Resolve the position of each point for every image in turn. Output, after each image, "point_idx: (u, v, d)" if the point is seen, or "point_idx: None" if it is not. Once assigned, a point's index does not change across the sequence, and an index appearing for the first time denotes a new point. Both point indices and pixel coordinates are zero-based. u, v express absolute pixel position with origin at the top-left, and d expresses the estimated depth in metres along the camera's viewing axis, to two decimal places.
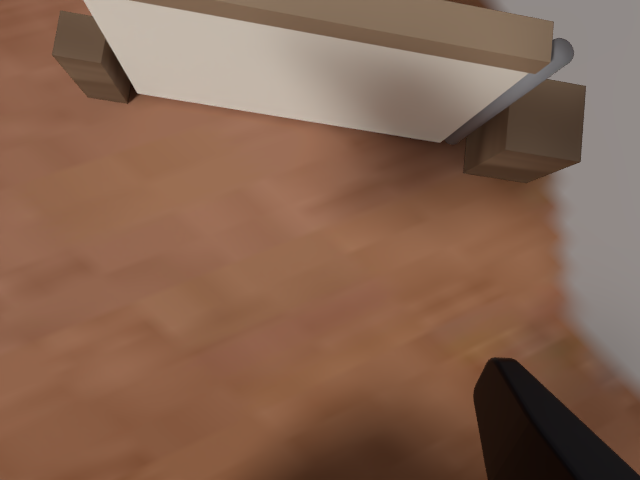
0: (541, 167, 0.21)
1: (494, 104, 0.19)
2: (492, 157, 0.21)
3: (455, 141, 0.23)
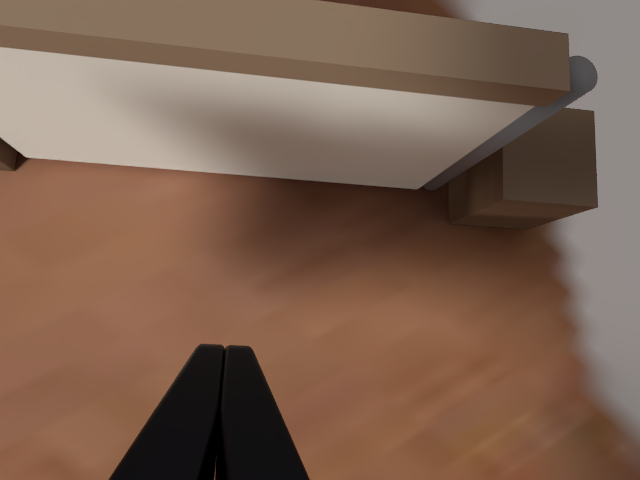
0: (547, 214, 0.17)
1: (486, 144, 0.14)
2: (486, 207, 0.16)
3: (436, 187, 0.19)
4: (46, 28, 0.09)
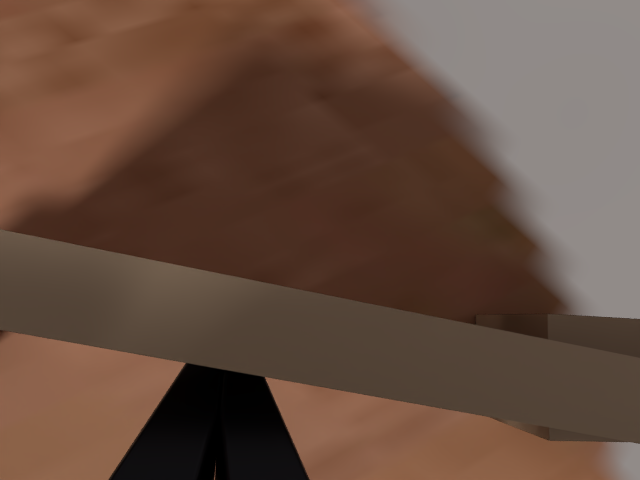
0: None
1: None
2: (525, 430, 0.14)
3: None
4: None
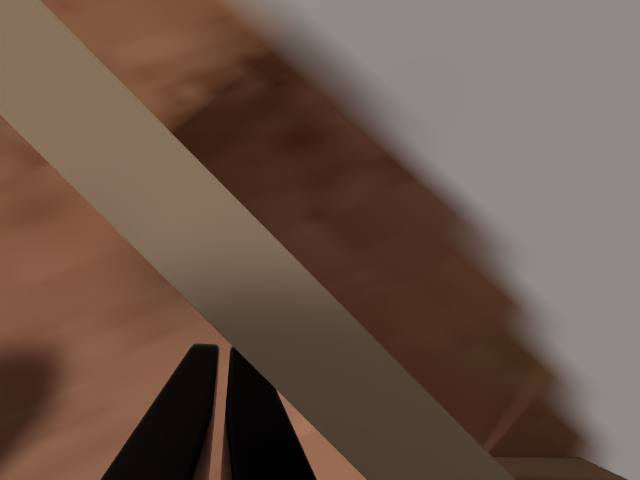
0: None
1: None
2: None
3: None
4: (138, 242, 0.06)
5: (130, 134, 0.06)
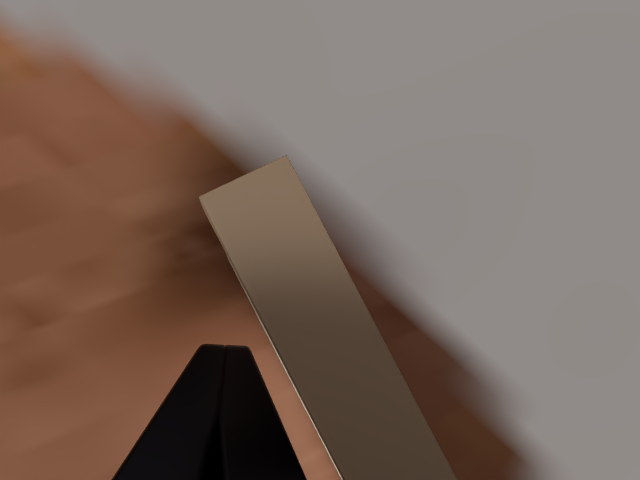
0: None
1: None
2: None
3: None
4: (335, 448, 0.06)
5: (355, 345, 0.07)
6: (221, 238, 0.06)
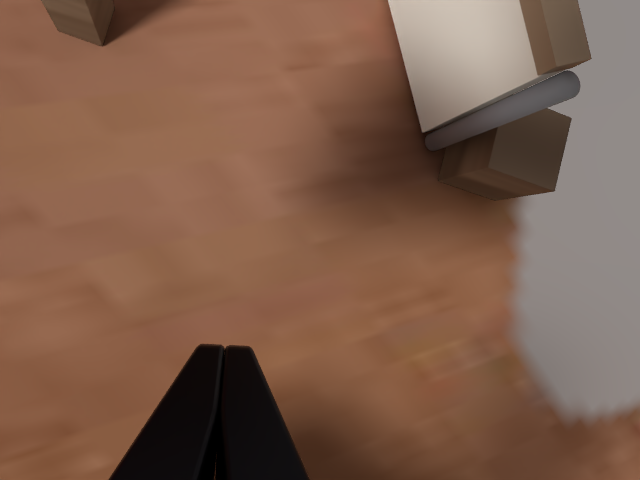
0: (516, 189, 0.22)
1: (486, 110, 0.19)
2: (472, 171, 0.21)
3: (430, 142, 0.23)
4: None
5: None
6: None
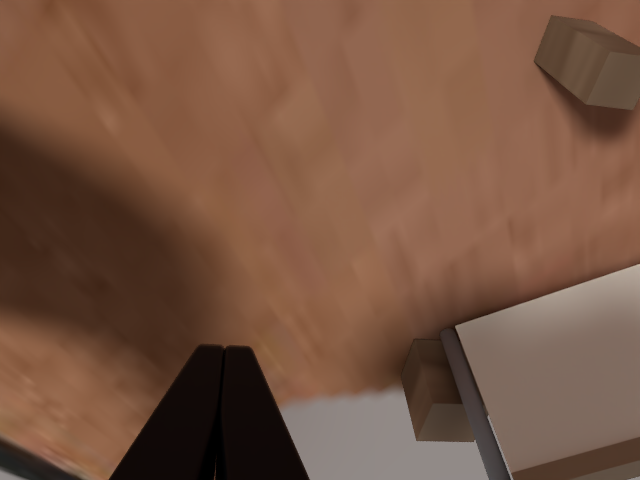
0: (414, 407, 0.27)
1: (479, 407, 0.23)
2: (427, 384, 0.26)
3: (447, 336, 0.27)
4: None
5: None
6: None
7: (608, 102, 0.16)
